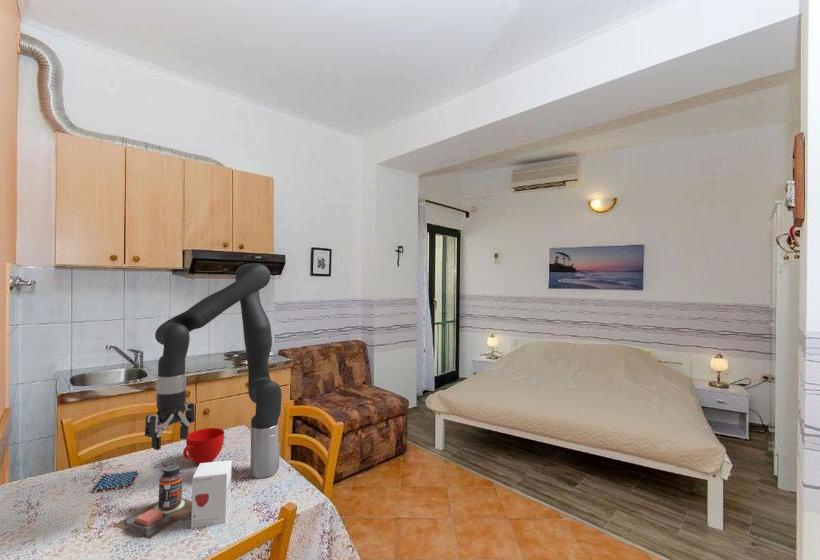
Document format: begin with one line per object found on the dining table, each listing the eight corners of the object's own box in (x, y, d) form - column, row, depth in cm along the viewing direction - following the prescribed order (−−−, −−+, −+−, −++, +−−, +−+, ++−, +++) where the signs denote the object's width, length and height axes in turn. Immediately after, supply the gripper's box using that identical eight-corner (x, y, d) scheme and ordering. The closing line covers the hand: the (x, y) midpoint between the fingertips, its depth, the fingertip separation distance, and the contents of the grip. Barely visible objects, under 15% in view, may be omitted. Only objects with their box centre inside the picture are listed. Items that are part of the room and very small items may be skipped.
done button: (152, 516, 110) (152, 508, 110) (163, 519, 108) (163, 512, 108) (136, 525, 106) (136, 517, 106) (147, 528, 104) (147, 521, 104)
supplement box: (189, 532, 106) (191, 477, 107) (197, 513, 115) (198, 462, 115) (226, 526, 109) (227, 473, 109) (231, 508, 118) (232, 459, 118)
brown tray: (170, 497, 123) (170, 488, 123) (204, 508, 118) (204, 498, 118) (112, 529, 107) (112, 518, 107) (148, 542, 102) (149, 531, 102)
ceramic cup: (168, 470, 140) (169, 443, 140) (203, 451, 157) (203, 426, 157) (199, 475, 137) (199, 447, 138) (231, 455, 154) (231, 429, 154)
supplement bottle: (170, 512, 113) (171, 473, 113) (153, 509, 114) (154, 471, 115) (186, 501, 119) (187, 464, 119) (169, 499, 120) (170, 462, 120)
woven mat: (130, 489, 128) (130, 483, 128) (91, 495, 125) (91, 489, 125) (139, 475, 138) (139, 469, 138) (103, 480, 134) (103, 474, 134)
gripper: (157, 397, 109) (156, 455, 109) (201, 385, 122) (200, 436, 122) (139, 394, 111) (138, 451, 111) (183, 382, 125) (183, 433, 125)
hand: (170, 443), depth 117 cm, fingers open, 8 cm apart
